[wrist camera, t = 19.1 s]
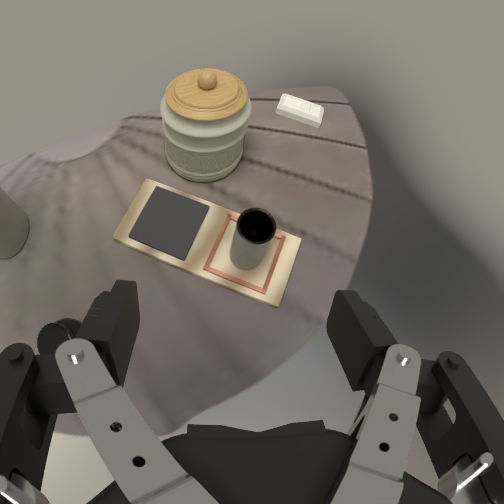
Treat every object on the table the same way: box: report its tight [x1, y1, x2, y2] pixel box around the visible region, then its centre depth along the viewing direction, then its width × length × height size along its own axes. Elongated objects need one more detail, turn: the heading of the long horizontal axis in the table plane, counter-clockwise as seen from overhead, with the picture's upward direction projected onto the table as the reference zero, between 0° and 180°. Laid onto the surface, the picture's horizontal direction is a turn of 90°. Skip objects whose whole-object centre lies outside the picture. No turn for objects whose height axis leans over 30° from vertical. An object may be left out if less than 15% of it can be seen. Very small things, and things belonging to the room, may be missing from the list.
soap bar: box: [276, 94, 324, 128], centre depth 56 cm, size 5×9×3 cm, turn 74°
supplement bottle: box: [37, 318, 82, 355], centre depth 32 cm, size 7×7×12 cm
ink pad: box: [128, 186, 210, 261], centre depth 44 cm, size 9×9×1 cm
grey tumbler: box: [230, 208, 276, 270], centre depth 39 cm, size 4×4×10 cm
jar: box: [160, 68, 251, 182], centre depth 42 cm, size 13×13×18 cm
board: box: [112, 178, 301, 308], centre depth 44 cm, size 26×11×2 cm, turn 69°
